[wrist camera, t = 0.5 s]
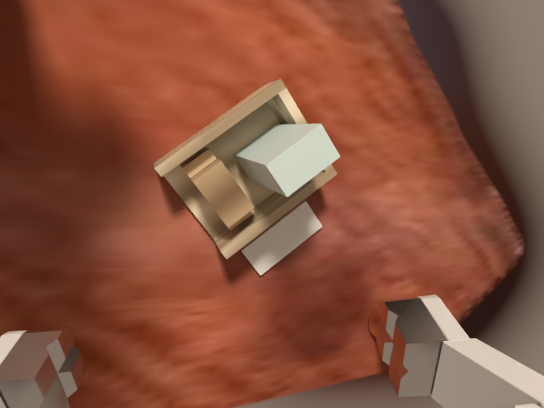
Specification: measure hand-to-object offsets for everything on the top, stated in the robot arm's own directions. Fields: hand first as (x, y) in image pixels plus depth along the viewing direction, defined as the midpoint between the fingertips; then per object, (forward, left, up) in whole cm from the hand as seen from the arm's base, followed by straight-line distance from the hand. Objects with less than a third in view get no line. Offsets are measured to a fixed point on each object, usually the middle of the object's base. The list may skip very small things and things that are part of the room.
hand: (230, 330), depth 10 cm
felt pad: (+18, +7, -42) cm, 46 cm away
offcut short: (+5, +4, -37) cm, 37 cm away
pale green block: (+5, +12, -41) cm, 43 cm away
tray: (+5, +8, -42) cm, 43 cm away
